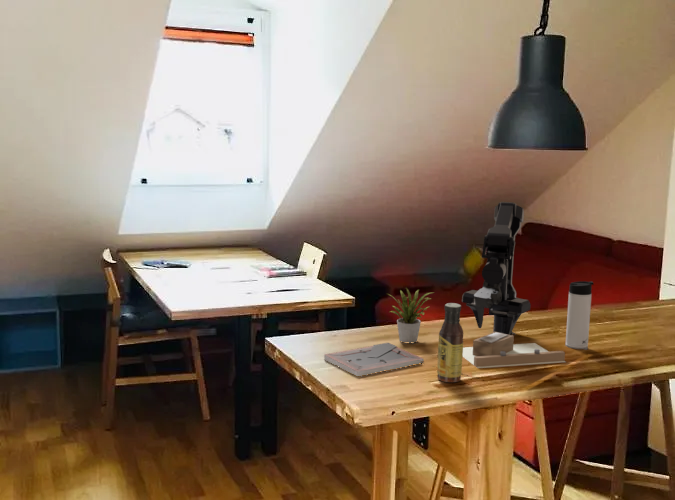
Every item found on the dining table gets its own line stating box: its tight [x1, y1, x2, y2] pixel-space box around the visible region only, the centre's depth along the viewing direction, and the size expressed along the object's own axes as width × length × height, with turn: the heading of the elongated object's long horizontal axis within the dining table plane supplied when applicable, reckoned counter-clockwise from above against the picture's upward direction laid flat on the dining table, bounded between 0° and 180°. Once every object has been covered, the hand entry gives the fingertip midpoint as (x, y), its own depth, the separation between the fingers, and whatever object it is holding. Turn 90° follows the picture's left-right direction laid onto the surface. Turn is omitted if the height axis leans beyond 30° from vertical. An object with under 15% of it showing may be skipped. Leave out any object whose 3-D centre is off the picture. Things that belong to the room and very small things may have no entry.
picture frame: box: [323, 342, 425, 377], centre depth 213 cm, size 16×2×22 cm
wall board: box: [462, 342, 567, 369], centre depth 218 cm, size 18×26×4 cm
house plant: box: [387, 287, 435, 343], centre depth 231 cm, size 14×14×16 cm
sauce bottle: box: [436, 302, 464, 383], centre depth 197 cm, size 7×6×20 cm
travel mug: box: [565, 280, 594, 351], centre depth 226 cm, size 6×7×20 cm
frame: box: [472, 331, 515, 356], centre depth 220 cm, size 6×12×4 cm, turn 139°
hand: (494, 331), depth 219 cm, fingers open, 9 cm apart
